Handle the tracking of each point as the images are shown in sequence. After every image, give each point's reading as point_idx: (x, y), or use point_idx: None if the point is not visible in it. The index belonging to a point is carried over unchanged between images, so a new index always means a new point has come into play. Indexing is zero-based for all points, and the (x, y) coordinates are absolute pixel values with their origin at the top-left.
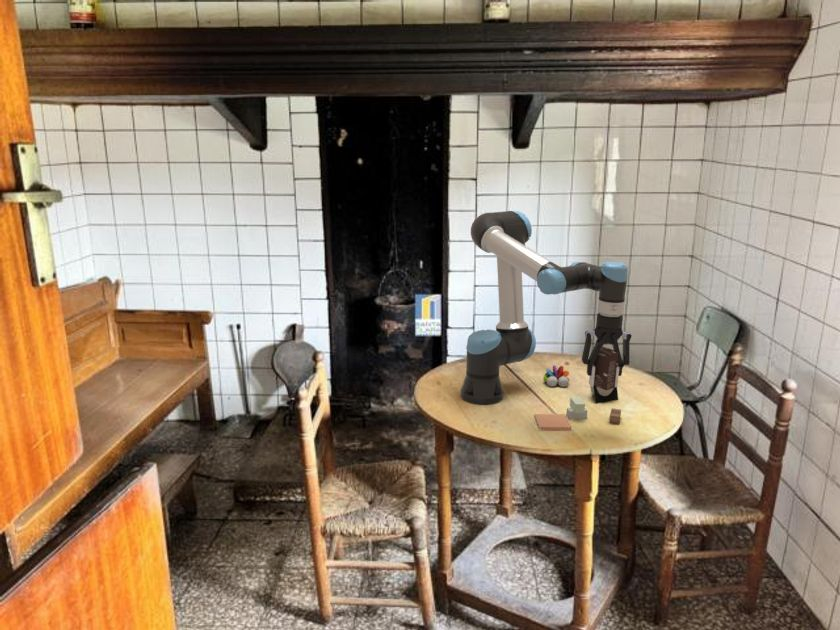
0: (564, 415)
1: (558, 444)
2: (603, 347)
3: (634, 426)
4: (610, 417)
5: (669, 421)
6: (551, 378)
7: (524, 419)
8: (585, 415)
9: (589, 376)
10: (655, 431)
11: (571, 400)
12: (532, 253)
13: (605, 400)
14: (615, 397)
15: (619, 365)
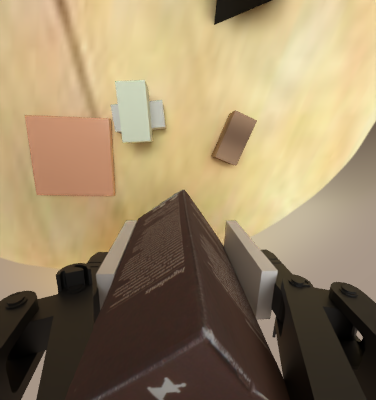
0: (106, 126)
1: (78, 256)
2: (200, 374)
3: (261, 173)
4: (216, 157)
5: (349, 146)
6: None
7: (3, 132)
8: (161, 128)
9: (118, 234)
10: (293, 196)
11: (118, 97)
12: None
13: (249, 6)
14: None
15: (276, 324)
